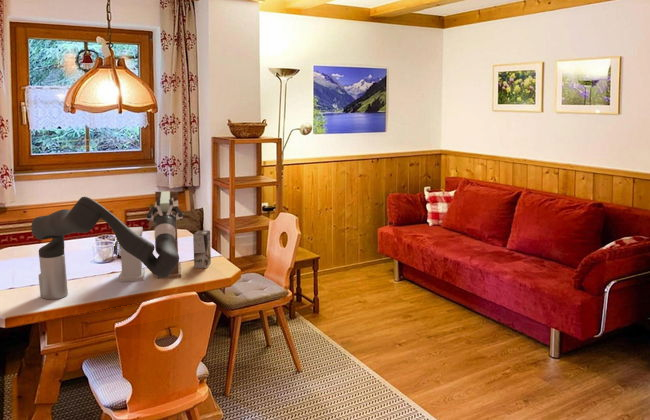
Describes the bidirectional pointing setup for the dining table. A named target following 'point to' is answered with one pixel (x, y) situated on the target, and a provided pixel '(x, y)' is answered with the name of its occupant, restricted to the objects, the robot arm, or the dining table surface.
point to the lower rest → (131, 263)
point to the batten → (164, 201)
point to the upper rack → (174, 198)
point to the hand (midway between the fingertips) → (164, 201)
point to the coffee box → (202, 249)
